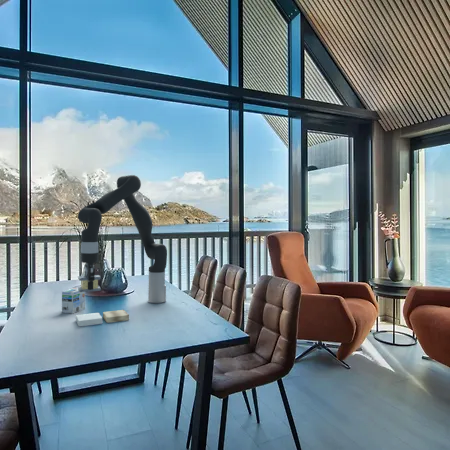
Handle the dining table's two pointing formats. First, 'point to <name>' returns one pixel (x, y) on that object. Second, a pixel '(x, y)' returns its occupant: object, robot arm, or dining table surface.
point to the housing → (85, 284)
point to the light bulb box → (72, 300)
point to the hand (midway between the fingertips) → (89, 288)
